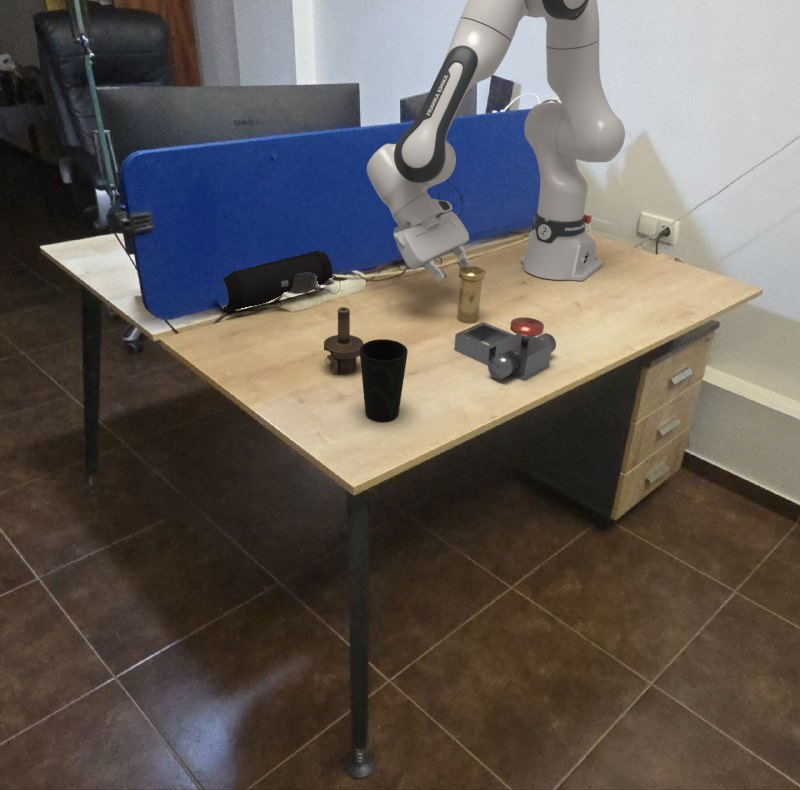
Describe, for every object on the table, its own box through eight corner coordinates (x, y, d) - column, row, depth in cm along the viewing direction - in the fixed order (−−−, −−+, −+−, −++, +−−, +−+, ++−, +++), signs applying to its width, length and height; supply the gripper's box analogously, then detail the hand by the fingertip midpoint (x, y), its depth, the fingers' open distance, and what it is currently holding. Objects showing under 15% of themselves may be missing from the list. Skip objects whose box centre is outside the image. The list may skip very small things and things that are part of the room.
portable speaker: (232, 321, 147) (228, 276, 142) (212, 305, 154) (207, 261, 148) (335, 294, 161) (334, 252, 156) (312, 281, 167) (310, 240, 162)
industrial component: (333, 381, 127) (332, 321, 120) (316, 364, 132) (314, 305, 126) (378, 370, 131) (380, 311, 125) (360, 354, 136) (361, 296, 130)
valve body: (492, 332, 146) (497, 291, 142) (560, 360, 137) (567, 318, 132) (441, 355, 137) (444, 313, 132) (510, 388, 127) (516, 343, 122)
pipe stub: (466, 311, 155) (470, 264, 149) (485, 319, 152) (490, 271, 146) (449, 318, 152) (453, 270, 146) (469, 326, 148) (473, 277, 143)
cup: (351, 419, 116) (351, 355, 110) (369, 397, 122) (370, 335, 116) (395, 430, 114) (397, 364, 108) (411, 407, 120) (414, 344, 114)
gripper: (399, 221, 139) (438, 279, 139) (453, 200, 153) (488, 253, 154) (380, 238, 143) (418, 294, 144) (434, 216, 158) (468, 267, 158)
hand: (454, 273), depth 149 cm, fingers open, 8 cm apart
